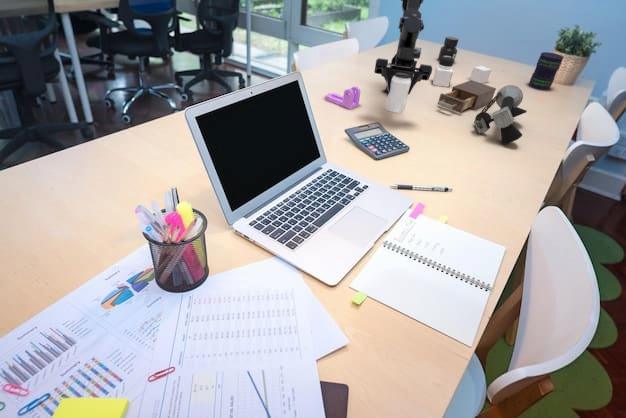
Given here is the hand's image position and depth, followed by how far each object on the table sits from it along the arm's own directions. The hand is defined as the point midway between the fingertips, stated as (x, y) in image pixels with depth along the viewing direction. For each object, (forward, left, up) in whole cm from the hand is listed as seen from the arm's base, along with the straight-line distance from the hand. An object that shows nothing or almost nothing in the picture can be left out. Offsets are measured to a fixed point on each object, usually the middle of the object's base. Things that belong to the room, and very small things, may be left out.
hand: (398, 92), depth 131 cm
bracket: (-26, +1, -12) cm, 29 cm away
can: (-1, +1, -7) cm, 7 cm away
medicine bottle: (-16, +59, -12) cm, 62 cm away
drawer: (+4, +37, -11) cm, 39 cm away
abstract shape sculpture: (+24, +33, -12) cm, 43 cm away
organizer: (+4, +50, -12) cm, 52 cm away
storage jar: (+14, +101, -12) cm, 103 cm away
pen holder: (-28, +45, -12) cm, 54 cm away
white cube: (-8, +81, -12) cm, 82 cm away
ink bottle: (-35, +96, -12) cm, 103 cm away
